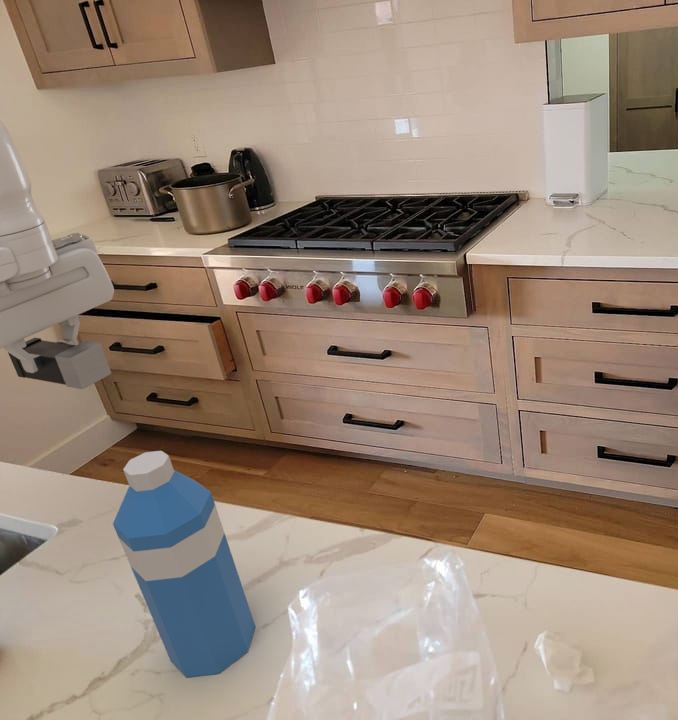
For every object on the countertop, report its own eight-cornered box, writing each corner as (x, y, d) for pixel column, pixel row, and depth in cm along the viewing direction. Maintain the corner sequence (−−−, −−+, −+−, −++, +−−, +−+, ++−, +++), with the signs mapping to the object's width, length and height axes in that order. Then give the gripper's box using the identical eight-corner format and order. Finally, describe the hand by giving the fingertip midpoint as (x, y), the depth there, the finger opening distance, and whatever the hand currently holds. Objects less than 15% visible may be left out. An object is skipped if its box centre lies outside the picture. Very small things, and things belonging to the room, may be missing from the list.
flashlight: (16, 377, 85) (3, 347, 83) (47, 363, 89) (35, 333, 87) (82, 389, 81) (70, 358, 79) (112, 373, 84) (100, 343, 82)
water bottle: (221, 687, 72) (148, 498, 61) (151, 668, 75) (70, 485, 64) (272, 619, 80) (216, 441, 68) (207, 604, 83) (143, 431, 72)
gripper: (71, 227, 88) (105, 325, 94) (-101, 282, 71) (-45, 397, 77) (105, 229, 85) (139, 329, 91) (-64, 286, 69) (-10, 404, 75)
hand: (53, 361), depth 84 cm, fingers closed on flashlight, 3 cm apart
